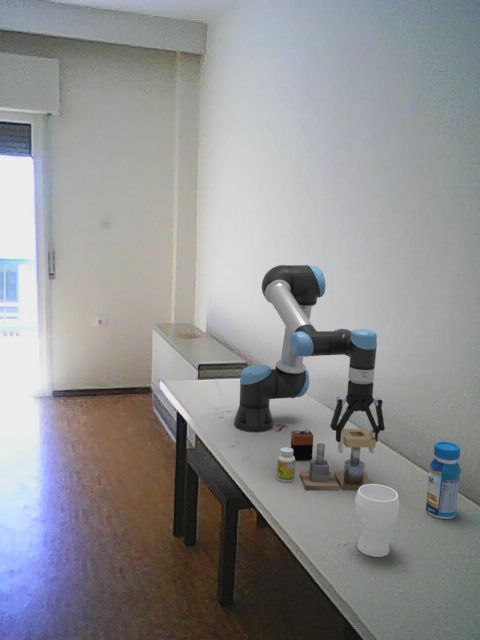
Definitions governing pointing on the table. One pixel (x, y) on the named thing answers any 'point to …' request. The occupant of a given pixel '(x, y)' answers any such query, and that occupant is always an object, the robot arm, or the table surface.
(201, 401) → the table surface
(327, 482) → the rod stand
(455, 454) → the beverage bottle
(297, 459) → the battery
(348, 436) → the brass plate
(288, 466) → the supplement bottle
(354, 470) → the peg stand
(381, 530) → the cup
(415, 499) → the table surface
